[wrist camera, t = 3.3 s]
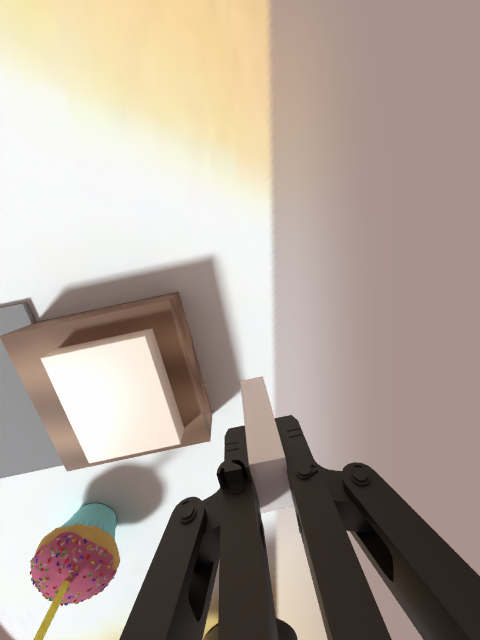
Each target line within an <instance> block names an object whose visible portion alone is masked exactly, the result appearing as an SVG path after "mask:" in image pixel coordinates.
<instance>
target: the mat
mask: <svg viewBox="0 0 480 640" xmlns="http://www.w3.org/2000/svg"><path fill="white" fill-rule="evenodd" d="M33 323H36V322H35V320H34V318H33V316H32V313H31V311H30V309H29V307H28V305H27V302H26V303H22V304H17V305H12V306H7V307H3V308H0V336H1V335H4V334H6V333H9V332H12V331H14V330H17V329H20V328H22V327H25V326H28V325H30V324H33ZM61 465H64V464H63V462H62V460H61V458H60V456H59V454H58V452H57V450H56V448H55V446H54V444H53V442H52V440H51V438H50V436H49V434H48V432H47V430H46V428H45V426H44V424H43V422H42V421H41V419H40V417H39V415H38V413H37V411H36V409H35V407H34V405H33V403H32V401H31V399H30V397H29V395H28V393H27V391H26V389H25V387H24V385H23V383H22V381H21V379H20V377H19V375H18V373H17V371H16V369H15V367H14V365H13V363H12V361H11V359H10V357H9V355H8V353H7V351H6V349H5V347H4V345H3V343H2V341H1V339H0V478H4V477H9V476H14V475H19V474H23V473H28V472H33V471H37V470H42V469H47V468H52V467H56V466H61Z"/></svg>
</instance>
